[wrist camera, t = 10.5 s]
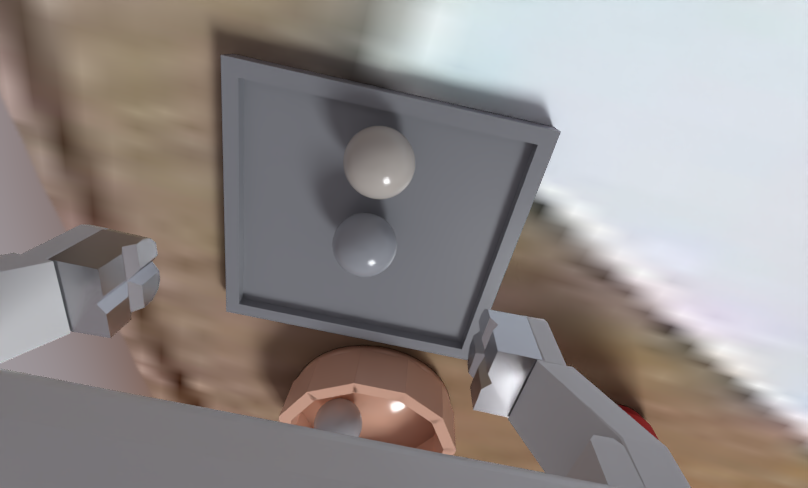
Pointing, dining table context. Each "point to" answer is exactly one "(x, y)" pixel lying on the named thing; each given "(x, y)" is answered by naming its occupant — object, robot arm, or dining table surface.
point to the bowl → (377, 396)
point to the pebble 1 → (339, 417)
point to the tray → (369, 206)
